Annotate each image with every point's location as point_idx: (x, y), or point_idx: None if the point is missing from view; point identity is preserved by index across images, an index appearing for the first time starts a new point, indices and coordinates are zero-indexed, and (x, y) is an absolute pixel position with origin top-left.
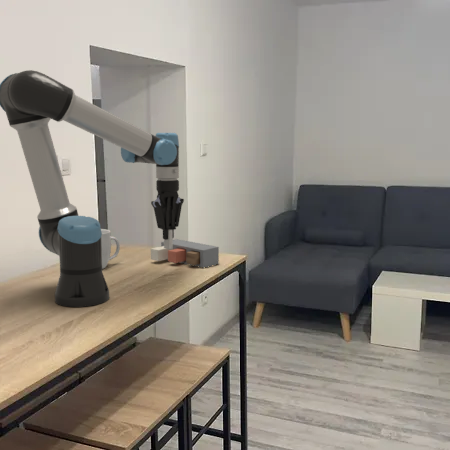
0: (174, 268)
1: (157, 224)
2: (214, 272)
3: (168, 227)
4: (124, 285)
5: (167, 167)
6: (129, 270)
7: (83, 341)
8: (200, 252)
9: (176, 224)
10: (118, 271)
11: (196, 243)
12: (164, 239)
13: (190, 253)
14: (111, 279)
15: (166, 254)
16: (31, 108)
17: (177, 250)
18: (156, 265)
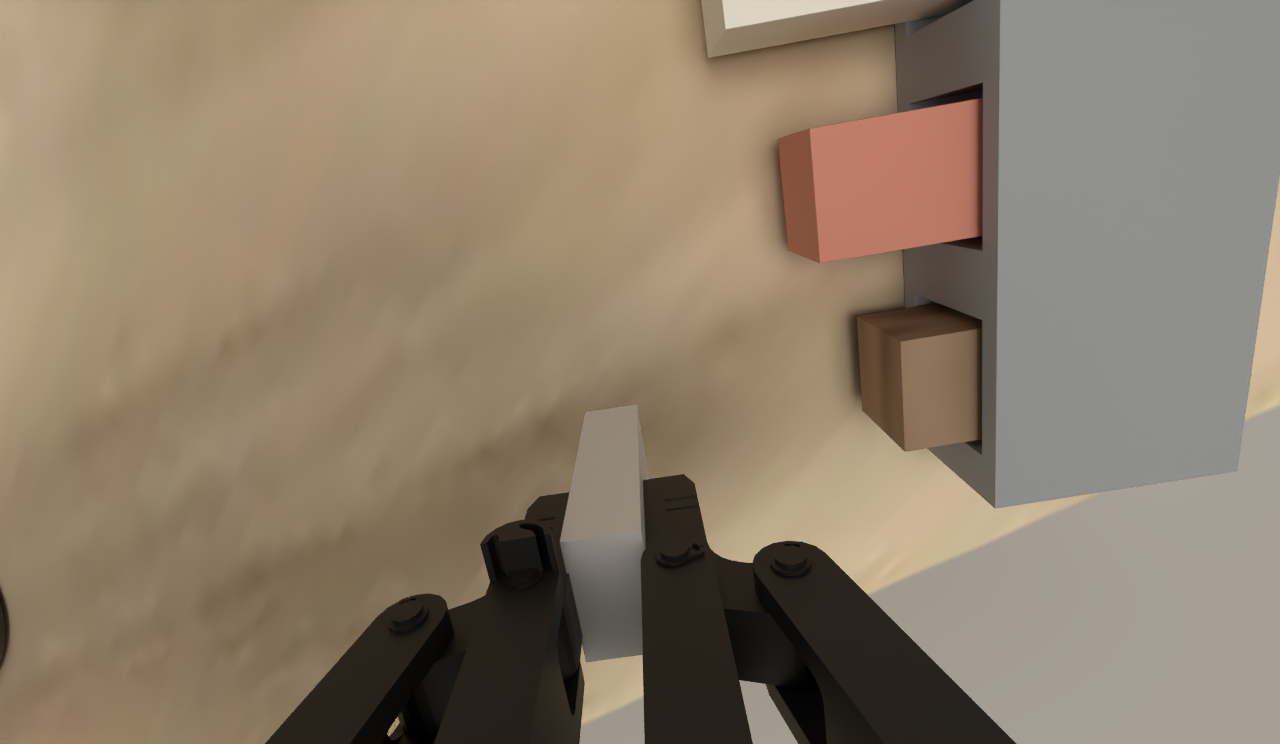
0: (732, 292)
1: (342, 670)
2: (881, 566)
3: (570, 697)
4: (171, 484)
5: None
6: (365, 98)
7: None
8: (978, 458)
9: (786, 696)
10: (259, 65)
11: (1247, 154)
12: (578, 466)
13: (900, 398)
14: (124, 283)
15: (844, 22)
16: None
17: (892, 201)
18: (670, 86)
